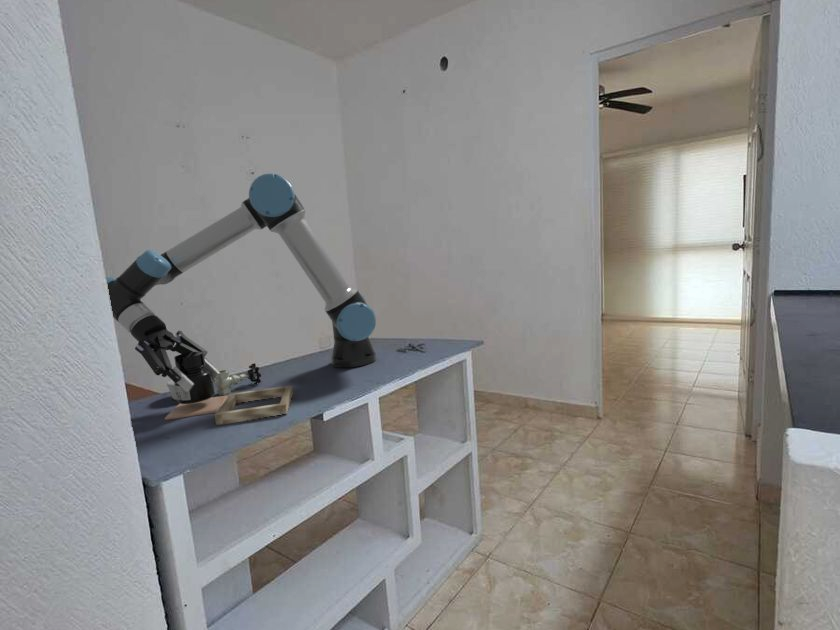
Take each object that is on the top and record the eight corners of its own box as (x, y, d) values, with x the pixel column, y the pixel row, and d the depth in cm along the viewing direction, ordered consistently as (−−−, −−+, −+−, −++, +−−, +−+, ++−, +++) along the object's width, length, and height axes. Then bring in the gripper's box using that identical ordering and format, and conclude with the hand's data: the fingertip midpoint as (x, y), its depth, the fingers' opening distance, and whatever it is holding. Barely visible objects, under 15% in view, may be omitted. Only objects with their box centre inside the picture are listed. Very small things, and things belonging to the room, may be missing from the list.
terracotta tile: (227, 397, 122) (227, 395, 122) (216, 412, 110) (216, 410, 110) (181, 403, 120) (181, 401, 119) (165, 419, 108) (165, 417, 108)
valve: (222, 397, 122) (262, 385, 130) (218, 375, 121) (259, 364, 129) (213, 393, 127) (253, 382, 135) (209, 371, 126) (250, 361, 134)
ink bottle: (176, 398, 116) (168, 355, 114) (212, 390, 121) (205, 348, 119) (179, 408, 108) (171, 361, 106) (217, 399, 113) (210, 354, 111)
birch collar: (293, 393, 119) (291, 385, 119) (287, 414, 104) (285, 404, 104) (231, 402, 117) (230, 393, 116) (216, 425, 101) (214, 415, 101)
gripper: (169, 326, 126) (224, 379, 124) (98, 344, 105) (164, 407, 104) (181, 307, 124) (237, 360, 122) (112, 321, 103) (179, 385, 101)
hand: (204, 382), depth 113 cm, fingers closed on ink bottle, 9 cm apart
